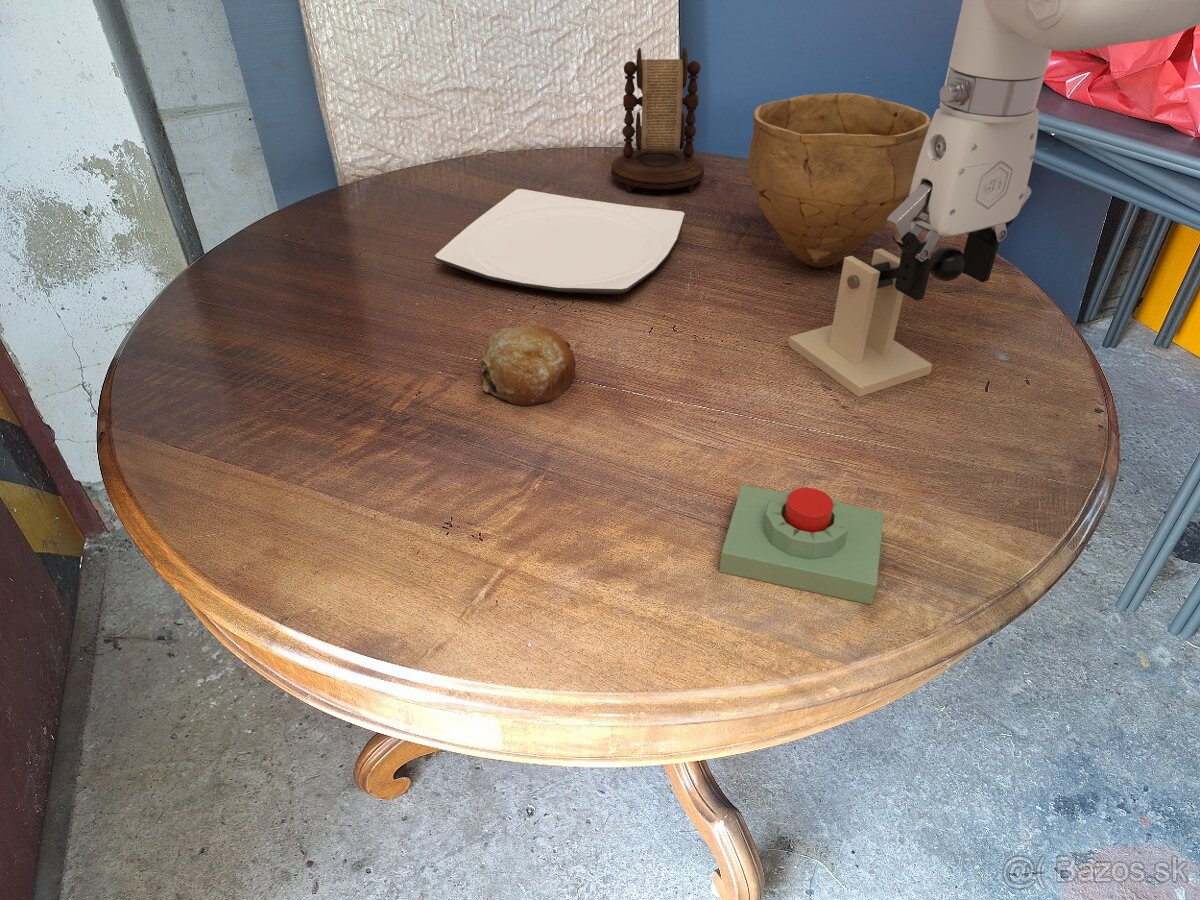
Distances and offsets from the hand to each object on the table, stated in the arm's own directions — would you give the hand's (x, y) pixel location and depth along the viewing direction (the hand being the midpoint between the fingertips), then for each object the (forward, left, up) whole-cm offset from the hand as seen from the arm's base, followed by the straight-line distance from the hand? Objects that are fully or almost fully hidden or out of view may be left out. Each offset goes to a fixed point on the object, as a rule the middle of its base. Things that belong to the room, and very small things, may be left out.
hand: (941, 284), depth 85 cm
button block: (+8, +27, -13) cm, 31 cm away
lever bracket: (+6, -6, -13) cm, 16 cm away
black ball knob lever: (+2, -2, -2) cm, 4 cm away
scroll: (+41, -53, -13) cm, 68 cm away
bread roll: (+39, +9, -13) cm, 42 cm away
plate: (+46, -23, -13) cm, 53 cm away
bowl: (+13, -29, -13) cm, 35 cm away
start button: (+8, +27, -9) cm, 30 cm away
